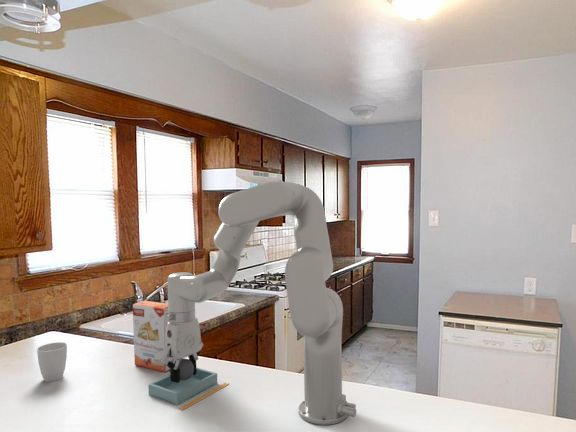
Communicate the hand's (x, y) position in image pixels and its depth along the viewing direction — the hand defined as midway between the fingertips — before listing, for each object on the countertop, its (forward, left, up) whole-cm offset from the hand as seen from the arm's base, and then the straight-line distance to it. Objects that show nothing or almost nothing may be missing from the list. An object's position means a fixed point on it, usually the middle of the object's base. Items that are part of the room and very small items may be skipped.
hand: (183, 377), depth 121 cm
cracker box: (+21, -7, -4) cm, 22 cm away
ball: (0, 0, -1) cm, 1 cm away
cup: (+41, +16, -4) cm, 44 cm away
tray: (-2, 0, -4) cm, 4 cm away
